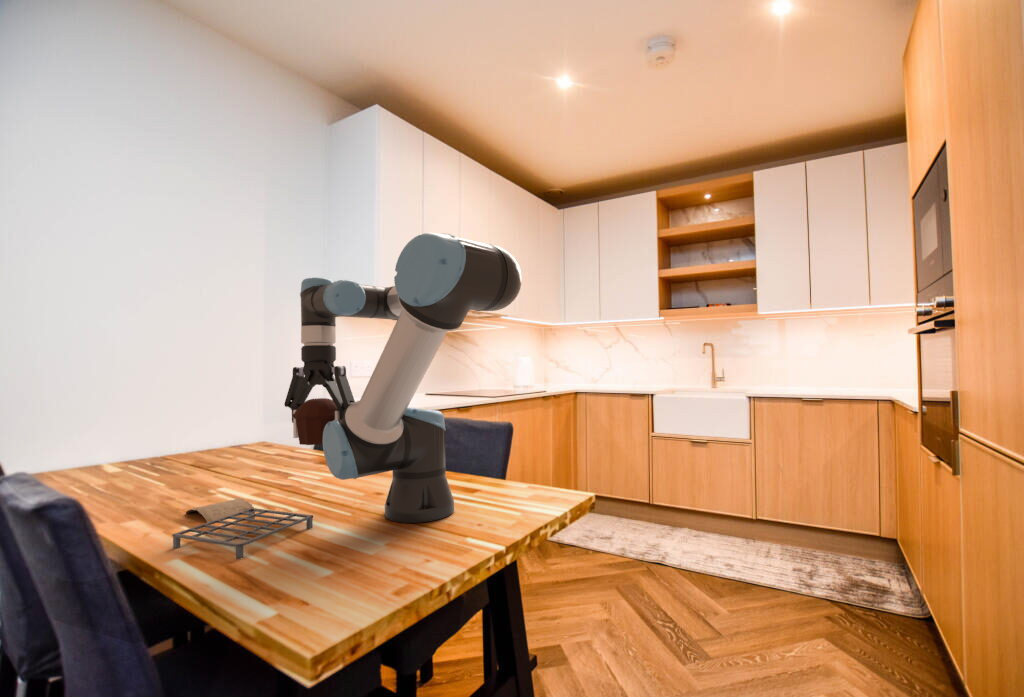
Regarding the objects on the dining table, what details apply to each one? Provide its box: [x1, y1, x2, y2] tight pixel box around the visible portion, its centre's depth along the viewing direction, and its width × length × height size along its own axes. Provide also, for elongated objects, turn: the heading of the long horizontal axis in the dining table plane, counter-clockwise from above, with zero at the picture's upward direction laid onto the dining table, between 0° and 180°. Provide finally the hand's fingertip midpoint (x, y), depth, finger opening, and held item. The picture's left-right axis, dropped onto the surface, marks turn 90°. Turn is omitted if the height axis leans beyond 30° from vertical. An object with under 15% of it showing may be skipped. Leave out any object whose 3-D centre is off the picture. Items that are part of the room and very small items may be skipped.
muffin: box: [293, 397, 337, 446], centre depth 113 cm, size 12×11×10 cm
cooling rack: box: [171, 507, 314, 560], centre depth 94 cm, size 17×17×2 cm
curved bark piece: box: [185, 497, 256, 523], centre depth 110 cm, size 14×10×3 cm
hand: (319, 438), depth 113 cm, fingers closed on muffin, 12 cm apart
